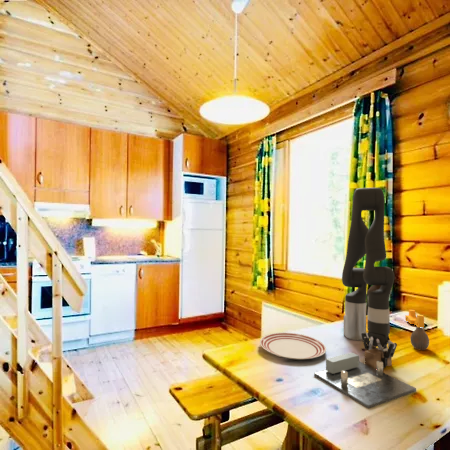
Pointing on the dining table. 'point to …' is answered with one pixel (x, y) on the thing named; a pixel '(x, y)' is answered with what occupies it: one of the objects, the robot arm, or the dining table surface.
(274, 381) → the dining table surface
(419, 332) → the vase
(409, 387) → the housing base
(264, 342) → the dinner plate
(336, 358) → the bar
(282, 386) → the dining table surface
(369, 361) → the block
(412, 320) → the pipe clamp
